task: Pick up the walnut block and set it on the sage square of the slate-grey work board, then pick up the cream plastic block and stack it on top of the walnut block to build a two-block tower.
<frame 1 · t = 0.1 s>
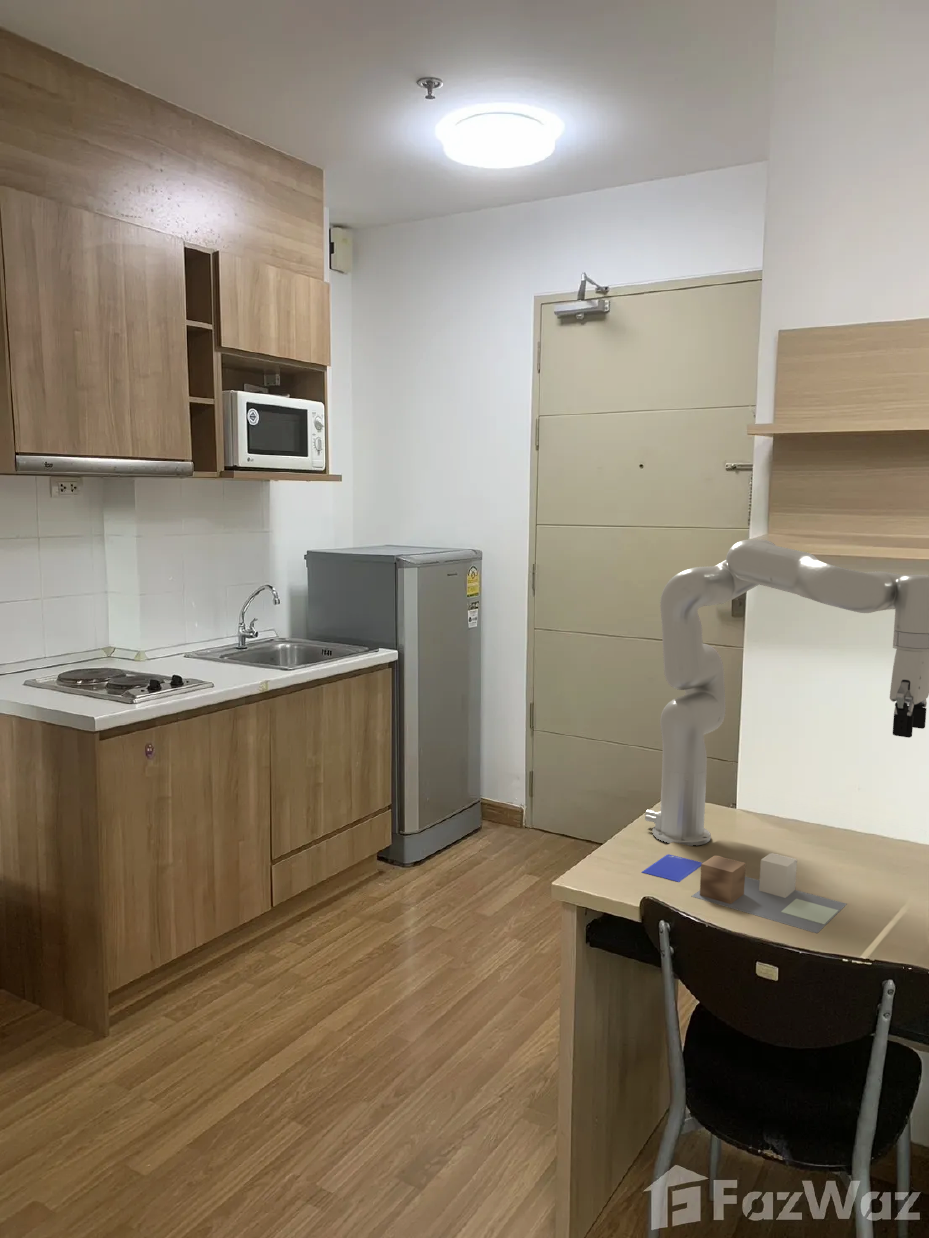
hand: (909, 731, 173), 31 cm above the table, tool pointing down, fingers open, 9 cm apart
cream block: (777, 890, 174), point 1 cm above the table, touching work board
blue square mat: (672, 875, 185), on the table
work board: (768, 904, 170), on the table
walnut block: (721, 894, 172), point 1 cm above the table, touching work board
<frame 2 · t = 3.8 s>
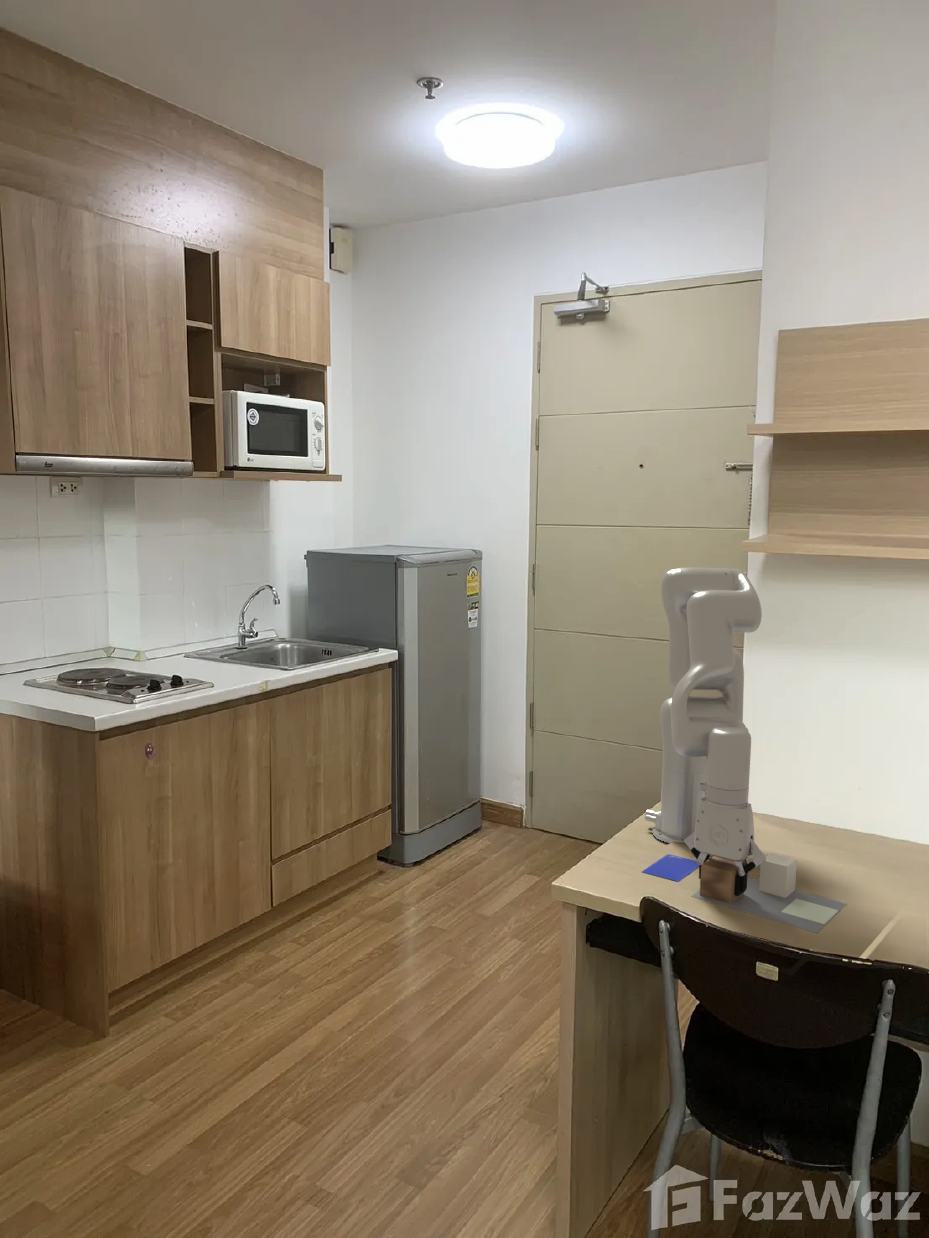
hand: (722, 887, 171), 2 cm above the table, tool pointing down, fingers closed on walnut block, 6 cm apart
walnut block: (721, 894, 172), point 1 cm above the table, touching gripper, work board
everything else where it was.
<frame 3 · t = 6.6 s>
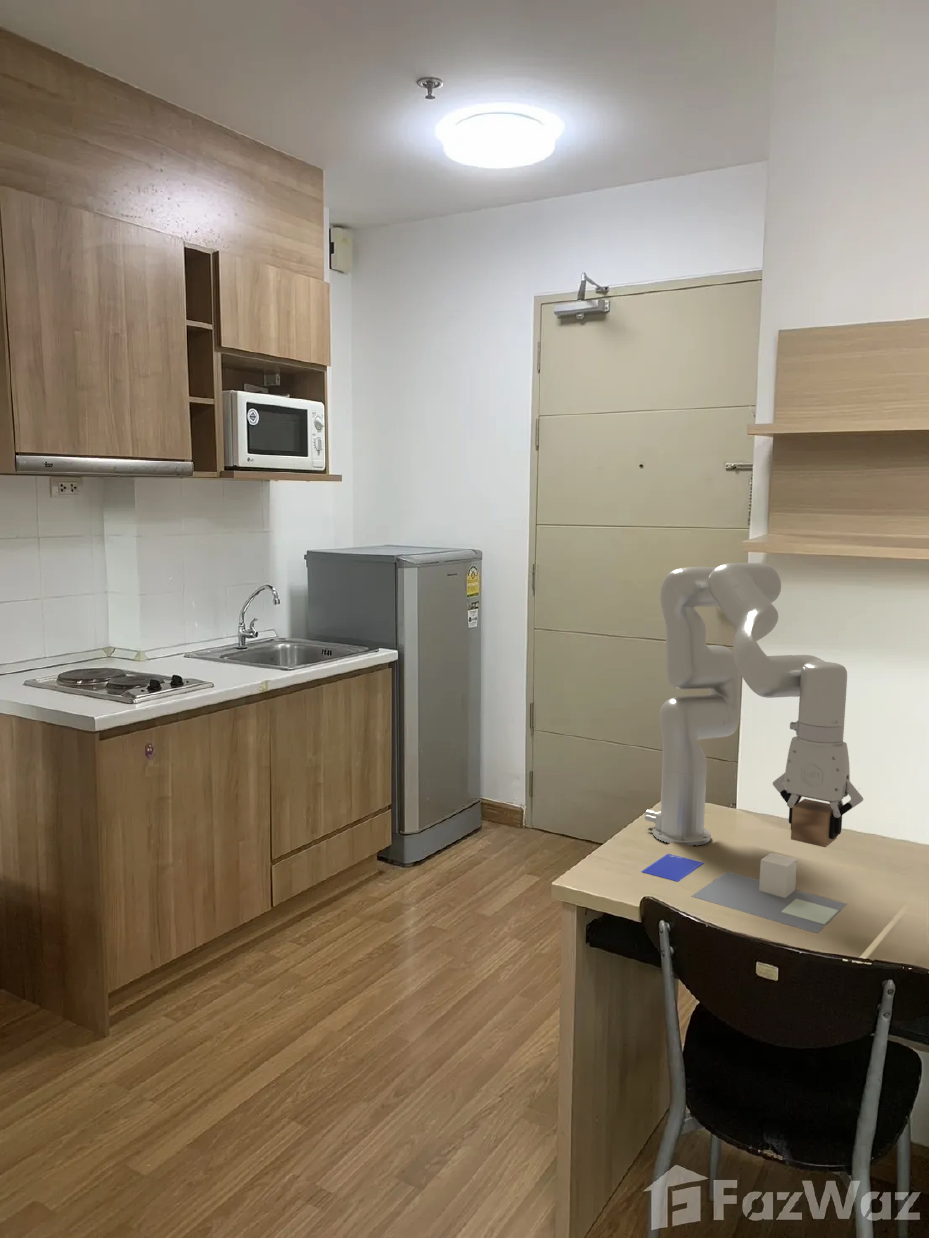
hand: (814, 831, 163), 15 cm above the table, tool pointing down, fingers closed on walnut block, 6 cm apart
walnut block: (813, 838, 163), point 14 cm above the table, touching gripper
everything else where it was.
when the fingers open (4 cm above the table, at t = 9.2 s): walnut block drops 1 cm, resting on work board.
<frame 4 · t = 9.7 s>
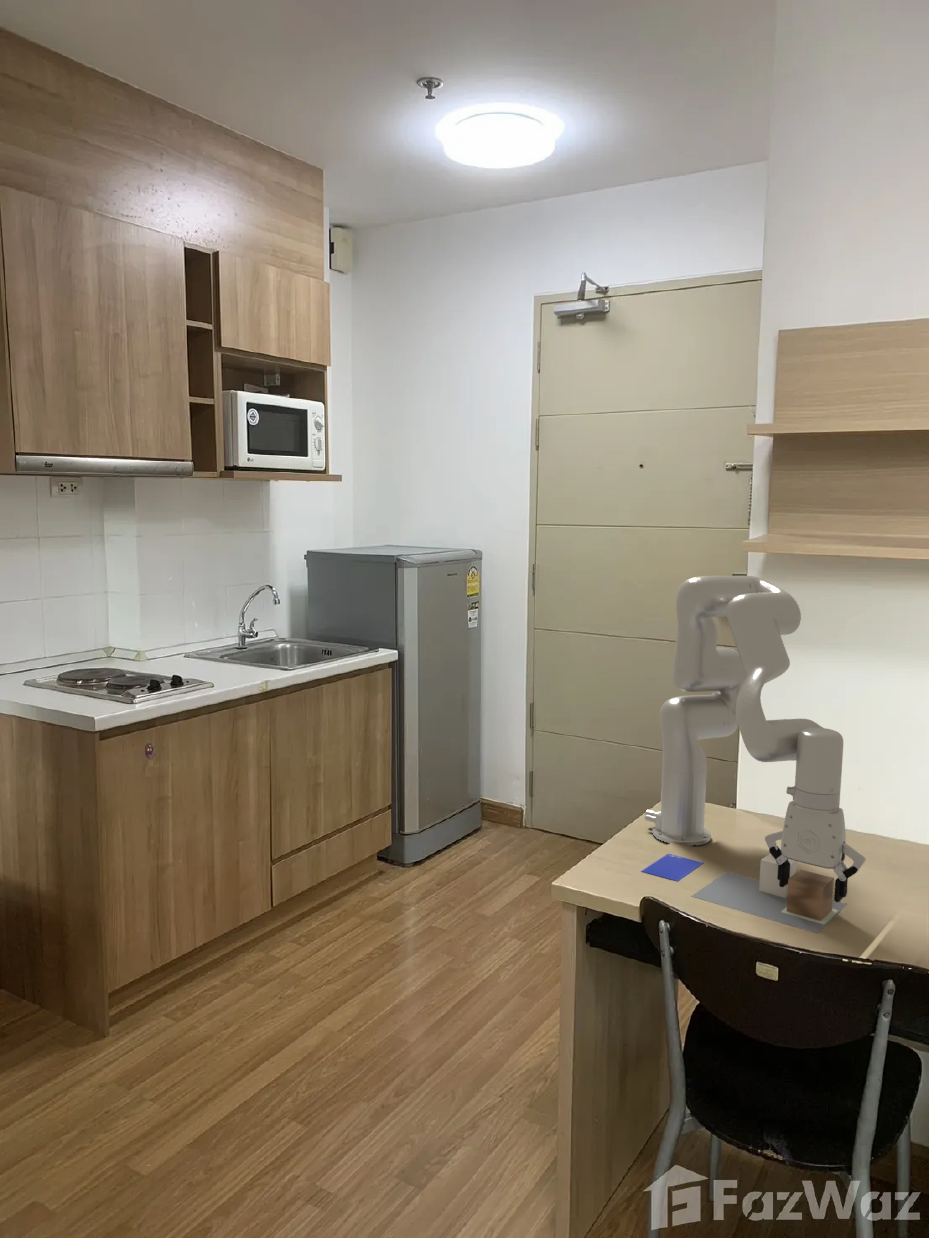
hand: (811, 892, 164), 4 cm above the table, tool pointing down, fingers open, 9 cm apart
walnut block: (809, 910, 165), point 1 cm above the table, touching work board
everything else where it was.
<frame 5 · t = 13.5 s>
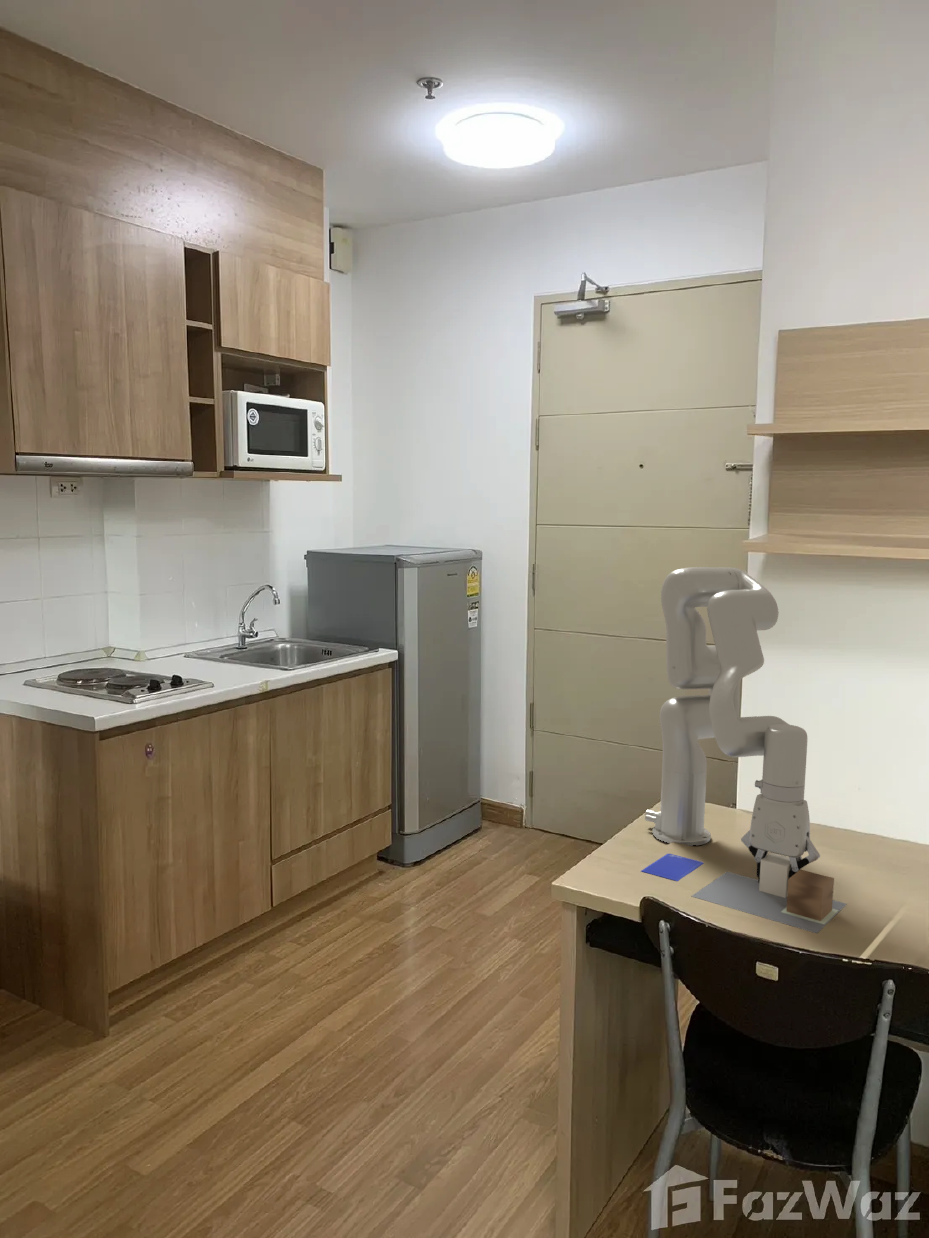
hand: (777, 884, 174), 2 cm above the table, tool pointing down, fingers closed on cream block, 4 cm apart
cream block: (777, 890, 174), point 1 cm above the table, touching gripper, work board
everything else where it was.
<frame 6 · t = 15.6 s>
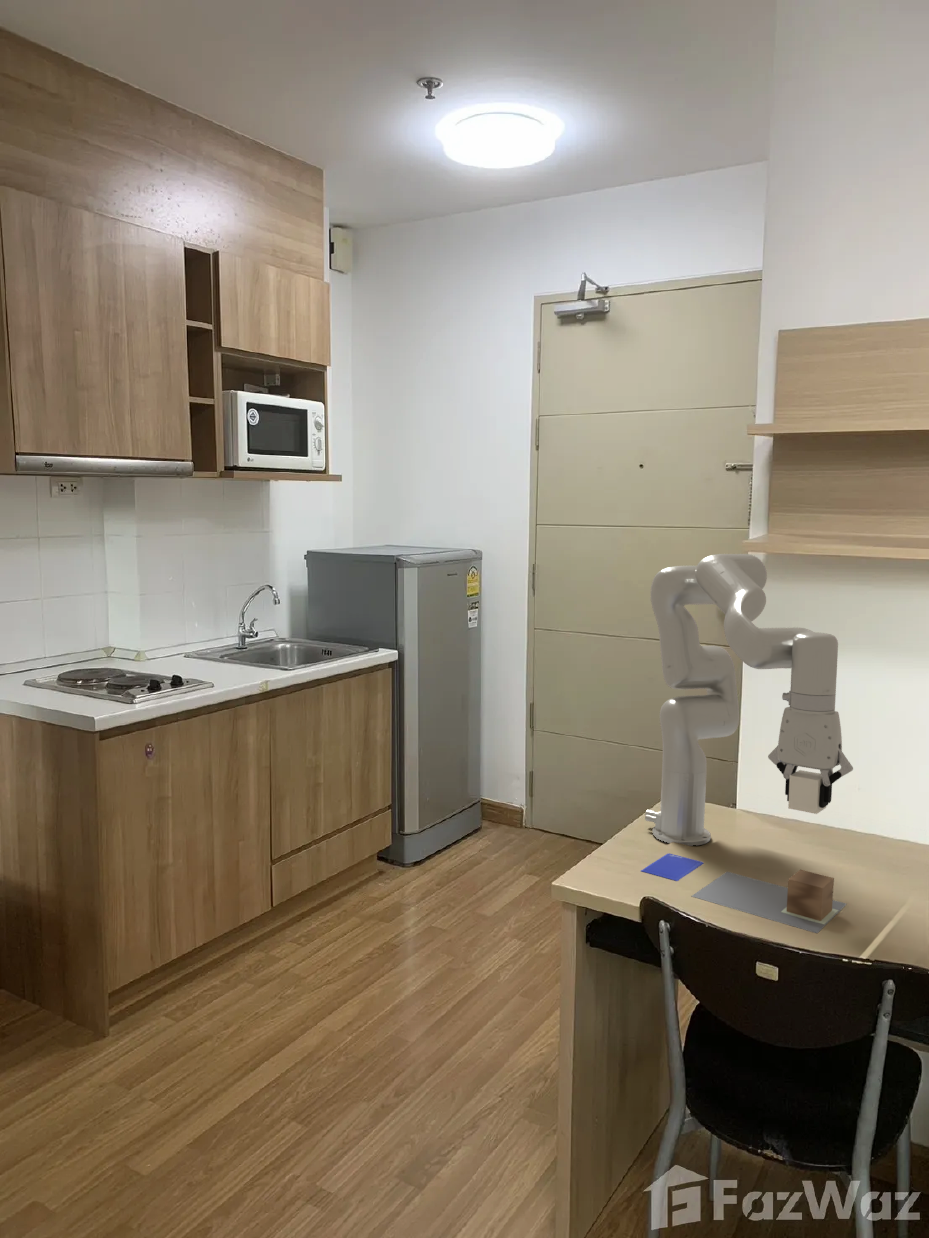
hand: (807, 801, 165), 20 cm above the table, tool pointing down, fingers closed on cream block, 4 cm apart
cream block: (807, 807, 165), point 19 cm above the table, touching gripper
everything else where it was.
when the fingers open (9 cm above the table, at t = 18.1 s): cream block drops 1 cm, resting on walnut block.
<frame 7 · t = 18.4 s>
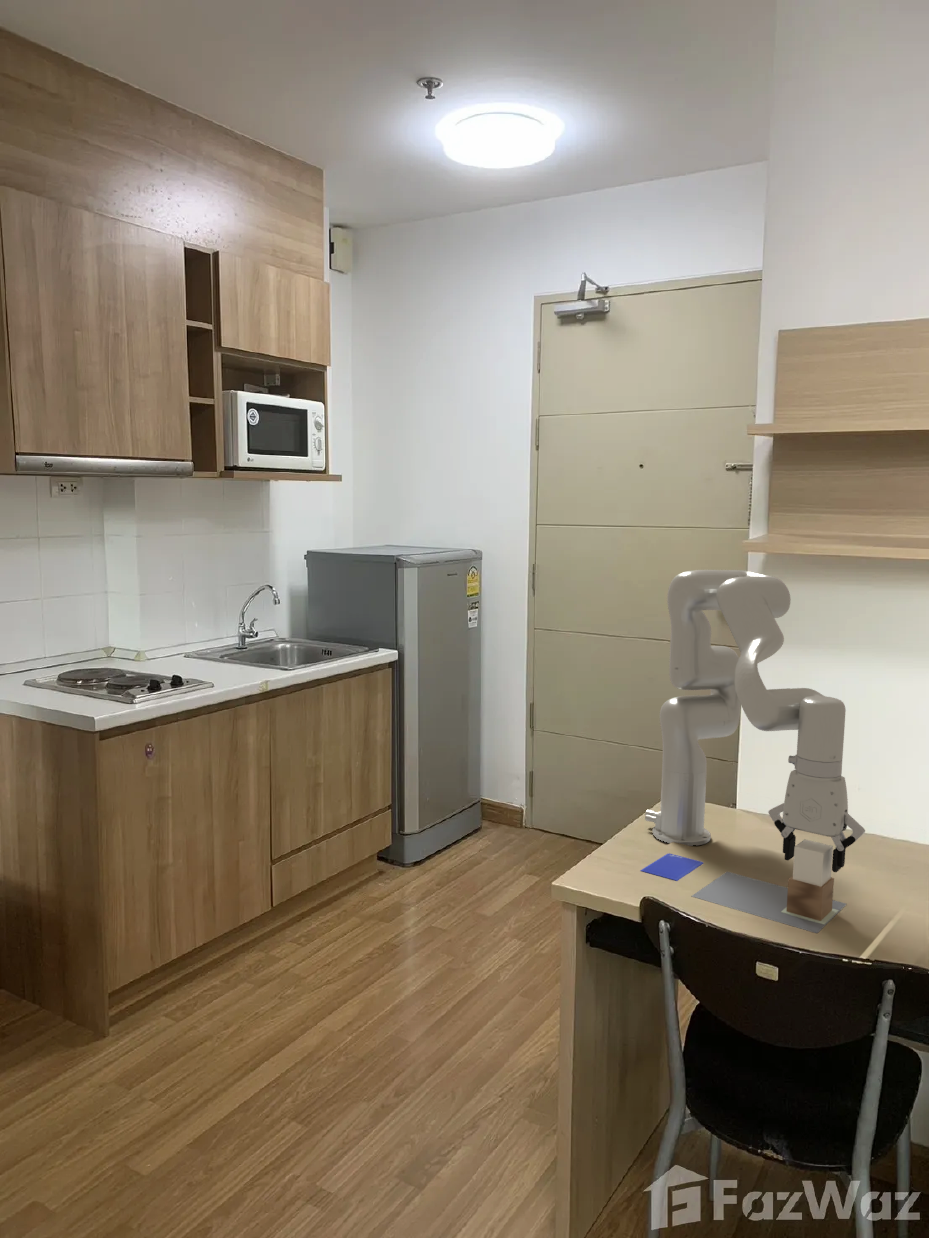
hand: (812, 863, 164), 10 cm above the table, tool pointing down, fingers open, 7 cm apart
cream block: (811, 878, 164), point 7 cm above the table, touching walnut block
walnut block: (809, 910, 165), point 1 cm above the table, touching cream block, work board
everything else where it was.
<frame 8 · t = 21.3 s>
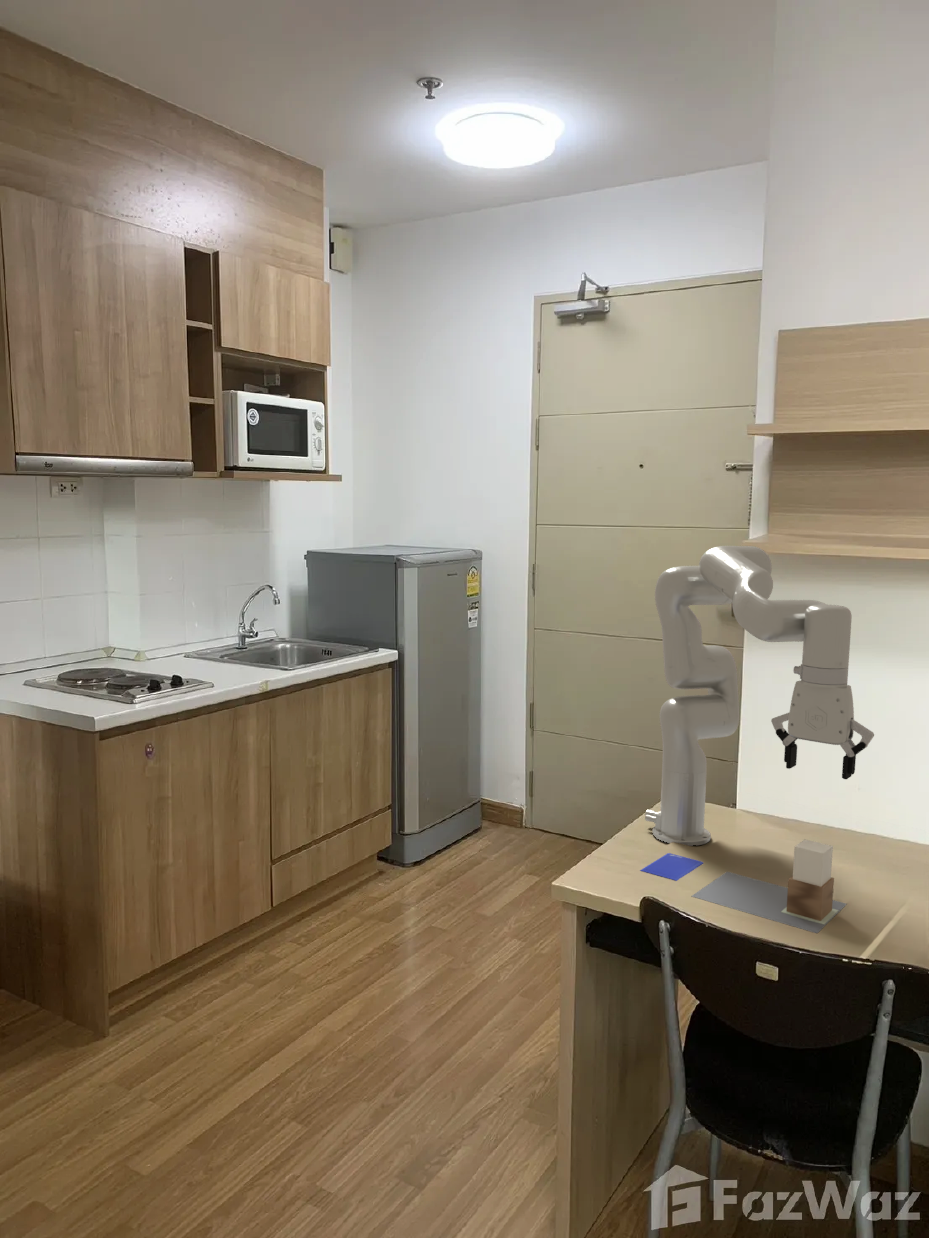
hand: (818, 772, 162), 26 cm above the table, tool pointing down, fingers open, 9 cm apart
nothing on the table moved.
at the end: walnut block 0.1 cm from the target spot, point 0.9 cm above the table; cream block 0.1 cm off-centre on the walnut block, point 6.0 cm above the walnut block's base; cream block tilted 0° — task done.
